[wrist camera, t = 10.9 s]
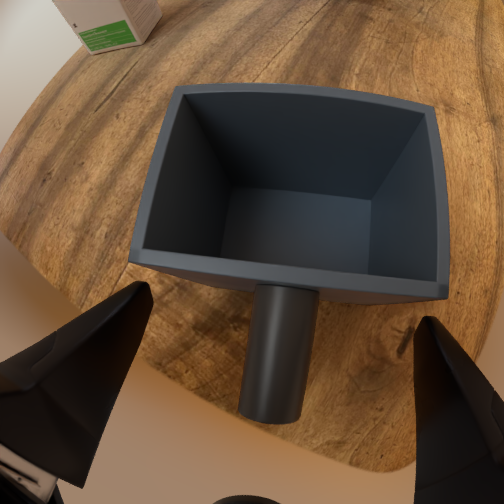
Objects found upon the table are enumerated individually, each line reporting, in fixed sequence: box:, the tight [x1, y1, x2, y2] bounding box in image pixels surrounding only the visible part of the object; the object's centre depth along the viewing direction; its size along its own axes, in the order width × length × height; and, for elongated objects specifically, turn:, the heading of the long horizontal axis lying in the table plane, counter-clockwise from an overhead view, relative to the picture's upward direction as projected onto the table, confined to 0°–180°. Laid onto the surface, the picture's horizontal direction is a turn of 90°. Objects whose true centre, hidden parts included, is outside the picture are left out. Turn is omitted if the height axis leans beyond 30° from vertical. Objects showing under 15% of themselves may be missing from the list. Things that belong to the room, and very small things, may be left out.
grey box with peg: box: [128, 83, 450, 424], centre depth 13 cm, size 12×10×10 cm
